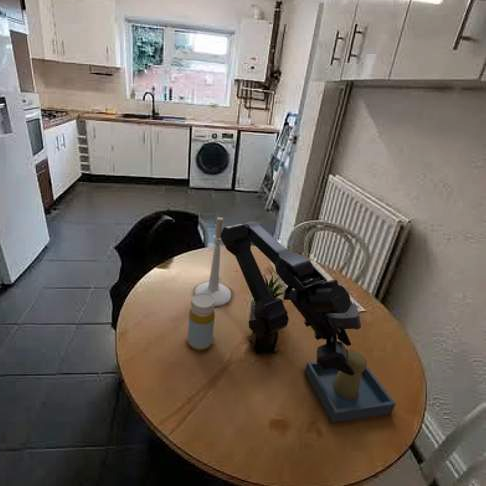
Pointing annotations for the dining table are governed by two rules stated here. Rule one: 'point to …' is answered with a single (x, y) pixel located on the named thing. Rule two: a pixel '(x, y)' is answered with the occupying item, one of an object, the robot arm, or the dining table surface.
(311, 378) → the tray
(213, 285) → the candlestick
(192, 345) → the bottle
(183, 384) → the dining table surface
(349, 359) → the wooden peg doll
